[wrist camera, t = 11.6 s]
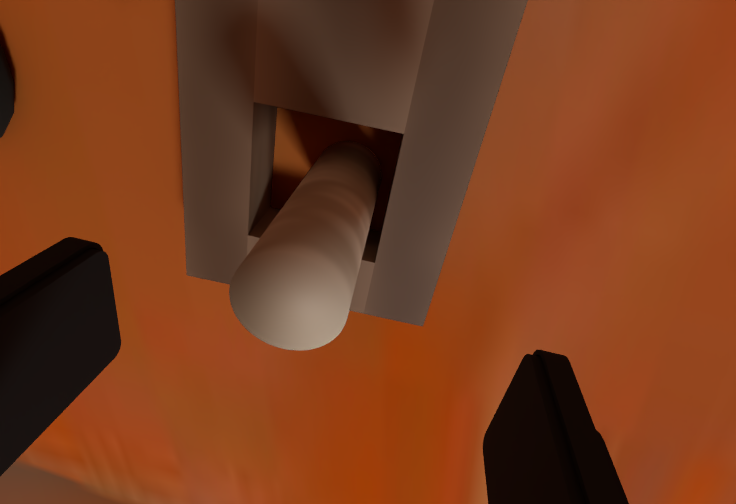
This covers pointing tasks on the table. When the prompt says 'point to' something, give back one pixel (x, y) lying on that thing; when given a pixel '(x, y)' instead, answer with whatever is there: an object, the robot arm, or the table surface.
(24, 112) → the table surface
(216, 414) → the table surface
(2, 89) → the wine bottle
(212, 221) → the walnut hole block
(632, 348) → the table surface
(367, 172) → the birch peg
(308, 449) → the table surface
